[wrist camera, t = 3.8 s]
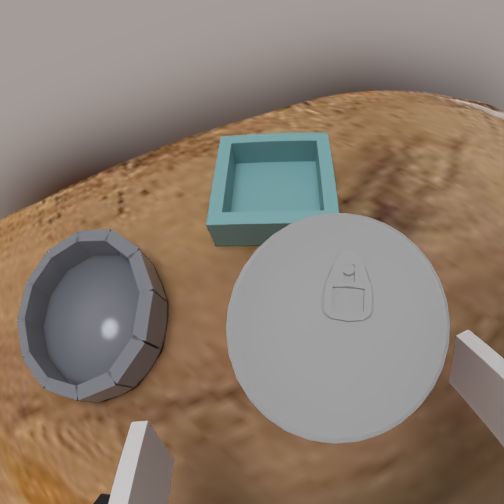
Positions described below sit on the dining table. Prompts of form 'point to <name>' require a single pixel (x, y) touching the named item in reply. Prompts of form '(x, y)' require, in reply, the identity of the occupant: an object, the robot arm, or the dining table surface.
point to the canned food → (337, 328)
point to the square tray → (269, 185)
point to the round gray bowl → (92, 317)
